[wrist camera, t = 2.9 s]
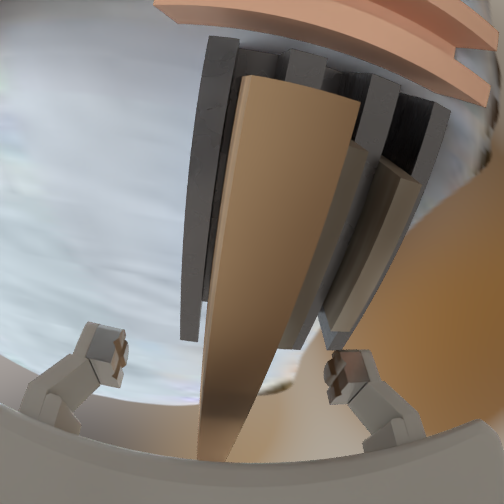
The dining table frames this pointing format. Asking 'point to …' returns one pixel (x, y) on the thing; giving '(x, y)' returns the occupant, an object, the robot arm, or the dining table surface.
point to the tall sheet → (265, 240)
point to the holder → (366, 33)
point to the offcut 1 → (326, 240)
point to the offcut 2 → (371, 244)
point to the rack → (364, 134)
